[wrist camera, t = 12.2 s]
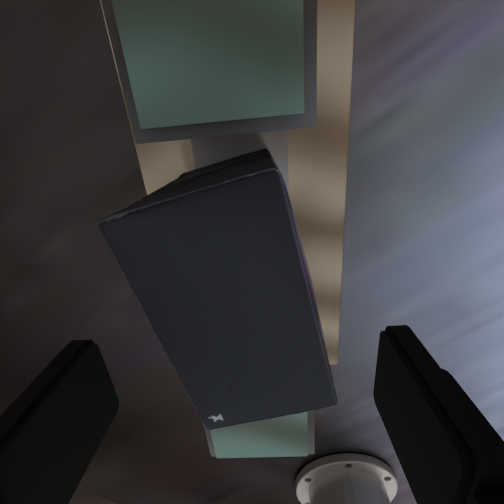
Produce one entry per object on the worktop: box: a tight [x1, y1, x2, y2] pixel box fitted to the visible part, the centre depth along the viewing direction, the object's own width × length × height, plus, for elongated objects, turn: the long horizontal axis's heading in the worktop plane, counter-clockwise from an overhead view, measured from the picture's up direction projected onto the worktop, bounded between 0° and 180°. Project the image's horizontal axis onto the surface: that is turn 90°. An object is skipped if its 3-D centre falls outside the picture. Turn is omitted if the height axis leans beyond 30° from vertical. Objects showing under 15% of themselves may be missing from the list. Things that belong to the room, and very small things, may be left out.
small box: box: [97, 148, 337, 430], centre depth 15 cm, size 11×6×10 cm, turn 17°
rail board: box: [100, 0, 355, 458], centre depth 17 cm, size 28×14×10 cm, turn 5°
